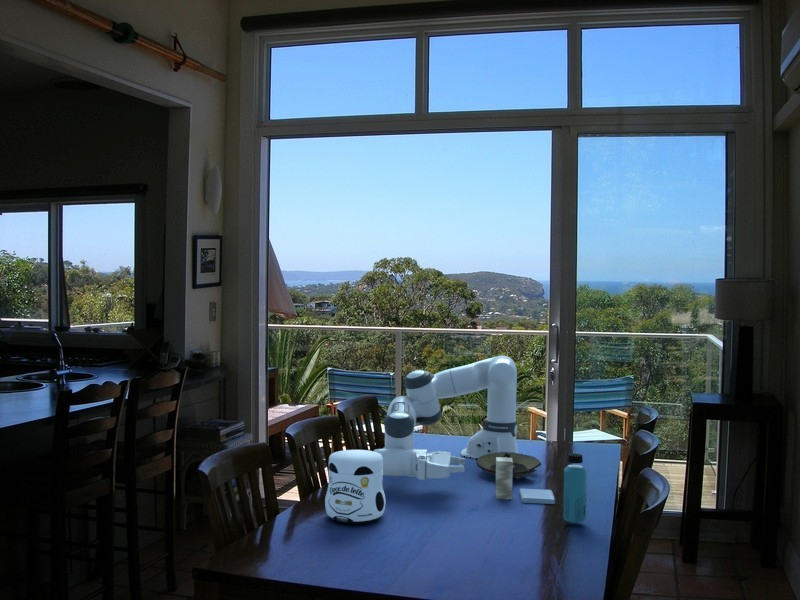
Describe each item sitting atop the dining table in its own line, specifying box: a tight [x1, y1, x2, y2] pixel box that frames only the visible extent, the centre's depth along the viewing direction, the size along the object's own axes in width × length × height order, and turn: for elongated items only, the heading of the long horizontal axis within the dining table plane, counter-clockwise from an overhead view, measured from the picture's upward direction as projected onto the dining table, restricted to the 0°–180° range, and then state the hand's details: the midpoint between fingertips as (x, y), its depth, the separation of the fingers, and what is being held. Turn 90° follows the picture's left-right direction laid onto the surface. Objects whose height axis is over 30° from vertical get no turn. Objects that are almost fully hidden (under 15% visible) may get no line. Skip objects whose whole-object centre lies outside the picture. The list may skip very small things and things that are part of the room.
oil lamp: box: [476, 452, 542, 480], centre depth 253 cm, size 22×30×8 cm
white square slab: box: [519, 488, 556, 505], centre depth 228 cm, size 10×10×2 cm
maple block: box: [494, 457, 513, 500], centre depth 229 cm, size 5×5×12 cm
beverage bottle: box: [562, 452, 588, 524], centre depth 204 cm, size 6×7×20 cm
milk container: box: [324, 449, 387, 525], centre depth 206 cm, size 17×17×18 cm
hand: (464, 464), depth 230 cm, fingers open, 8 cm apart
